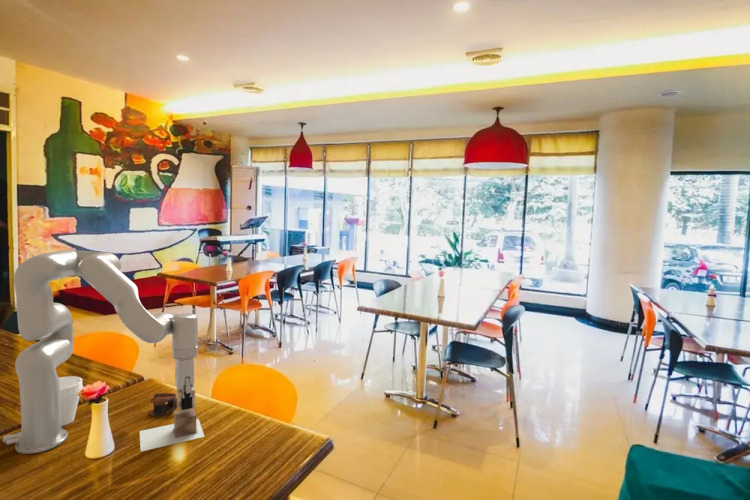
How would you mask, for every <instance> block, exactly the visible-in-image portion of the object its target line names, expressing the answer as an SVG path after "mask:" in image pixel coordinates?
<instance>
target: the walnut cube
mask: <svg viewBox="0 0 750 500" xmlns="http://www.w3.org/2000/svg"><path fill="white" fill-rule="evenodd" d="M173 415H174V416H173V417H174V418H173V419H174V421H173V422H174V423H173V424H174V429H175V434H176V437H180V436H185V435H189V434H193V433H196V419H197V413H196V410H195V408H192V409H187V410H182V411H178V410H174V412H173Z"/></svg>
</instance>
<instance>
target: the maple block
mask: <svg viewBox="0 0 750 500" xmlns="http://www.w3.org/2000/svg"><path fill="white" fill-rule="evenodd" d="M183 388H186V386H183ZM184 392H186V390H184ZM176 398H177V408H176V409H177V411H182V409H181V398H182V389H181V390H178V389H177V388H176ZM192 408H194V409H195V408H196V389H195V386H194V387H193V388H192ZM192 408H190V409H192ZM185 410H187V409H185Z"/></svg>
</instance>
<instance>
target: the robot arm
mask: <svg viewBox="0 0 750 500" xmlns="http://www.w3.org/2000/svg"><path fill="white" fill-rule="evenodd" d="M121 268H122V263H121V260H120V258H119V257H118V256H117V255H115V254H114V253H112V252H107V251H92V250H90V251H88V250H75V249H66V250H65V249H64V250H57V251H50V252H45V253H39V254H37V255H34V256H32V257H29V258H27V259H26V260H24V261H22V262H21V263H20V264H19V265H18V266H17V268H16V270H15V271H14V275H13V285H14V290H15V291H14V292H15V299H16V316H17V328H18V332H19V335H20V337H22V338H23V339H24V340H27V341H31V342H32V341H34V342H35V341H37V342H36V343H33V344H32V345H29V346H27V347H26V348H24V349H23V350H22V351H21V352H20V353H19V355H17V357H16V360H15V363H14V367H15V372H16V375H17V379H18V384H19V397H20V421H21V422H20V423H21V424H20V425H21V431H18V432H17V433H13V434H7V435H4V436H2V443H3V444H4V443H5V445H6V446H9V445H13V444H15V446H14V447H15V451H16V453H19V454H24V455H28V454H29V455H30V454H31V455H32V454H37V453H43V452H46V451H48V450H51V449H53V448H56V447H58V446H60V445H61V444H62V443H64V442H65V441H66V440H67V439H68V437H69V434H68V433H69V432H68V430H66V429H64V428H62V426H61V396H60V381H59V378H60V377H59V375H58V373H57V367H59V366H60V365H61V364H63V363H65V362H66V361H68V360H69V358H70V357H71V356H72V355H73V352H74V349H75V348H74V347H75V340H74V326H73V316H72V313H71V311H70V310H69V308H68V307H67V306H66V305H64V304H62V303H61V302H60V303H59V302H54V293H53V290H52V287H51V286H50V285H49V283H50V282H54V281H58V280H61V279H64V278H69V277H81V278H82V279H83V280H84V281H85V282H86V283H87V284H88V285H90V286H91V287H92V288H94V290H96V291H97V292H98V293H99V294H100V295H101V296H103V298H105V299H106V300H107V301H108V302H109V303H111V304H112V305H113V307H114V310H115V312H116V314H117V315H118V317H119V319H120V321H121V322H122V323H123V325H124V326H125V327H126V328H127V329H128V330H129V331H130V332H131V333H133V334H134V335H135V336H136V337H138V338H139V339H140V340H141V341H143V342H145V343H148V344H158V343H159V342H161V341H163V340H164V339H165V338H166V337H167V336H168V335H169V336H170V335H171V336H172V337H171V338H172V339H171V341H172V344H171V345H172V348H171V349H172V358H173V359H174V360H175V364H174V365H175V366H174V367H175V369H174V370H175V373H174V374H175V375H174V383H175V386H176V390H177V389H178V390H181V389H182V398H181V409H182V410H185V409H190V408H192V388H193V387H194V388H195V358H196V357H198V356H199V344H198V343H199V337H198V336H199V334H198V333H199V332H198V331H199V330H198V329H199V328H198V326H199V322H198V321H199V320H198V316H197V315H196V314H195V313H191V312H190V313H189V312H186V313H185V312H184V313H174V312H166V311H163V312H162V311H161V312H157V313H155V314H154V315H152V314H151V313H150V312H149V311H148V310H147V309H146V308H145V307H144V306H143V304H142V302H141V300H140V298H139V289H138V288H139V287H138V285H136V283H135V282H133V281H132V280H131V279H130V278H129V277H128V276H126V275H125V273H123V271H122V270H121ZM183 386H186V388H183ZM184 390H186V392H184Z"/></svg>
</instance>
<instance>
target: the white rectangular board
mask: <svg viewBox="0 0 750 500" xmlns="http://www.w3.org/2000/svg"><path fill="white" fill-rule="evenodd" d="M204 437H205V434H204V431H203V427H202V424H201V422H200V420H199V418H196V433H193V434H189V435H185V436H180V437H176V434H175V429H174V423H172V424H166V425H161V426H158V427H152V428H147V429H143V430H140V431H139V444H140V452H144V451H149V450H153V449H154V450H155V449H158V448H162V447H163V448H164V447H165V446H171V445H175V444H178V443H183V442H188V441H192V440H196V439H200V438H204Z"/></svg>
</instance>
